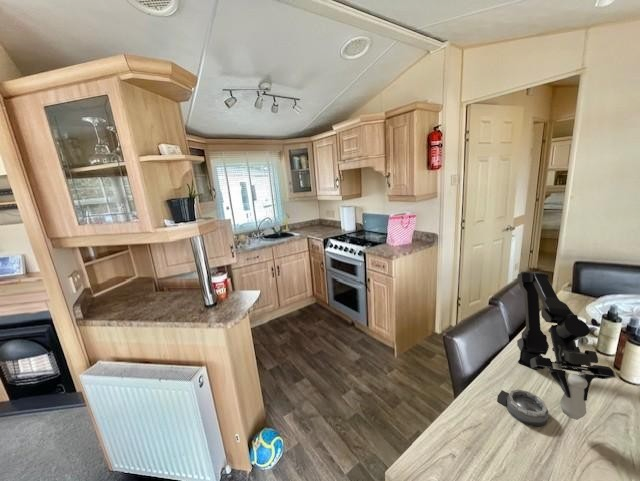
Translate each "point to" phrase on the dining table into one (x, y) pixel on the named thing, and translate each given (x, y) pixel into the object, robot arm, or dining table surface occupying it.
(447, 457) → the dining table surface
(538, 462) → the dining table surface
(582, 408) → the salt shaker
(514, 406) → the grey round shallow dish
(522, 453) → the dining table surface
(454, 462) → the dining table surface
